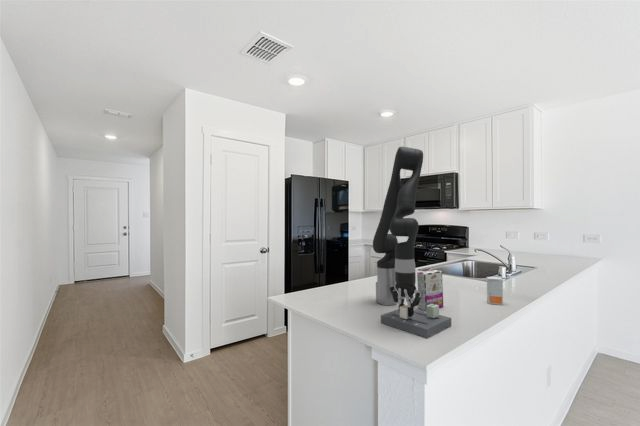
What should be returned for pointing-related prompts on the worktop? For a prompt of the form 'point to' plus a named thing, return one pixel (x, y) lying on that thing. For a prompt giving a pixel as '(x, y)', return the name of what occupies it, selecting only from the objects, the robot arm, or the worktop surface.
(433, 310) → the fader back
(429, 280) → the candy bar box
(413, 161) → the robot arm
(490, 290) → the skincare box
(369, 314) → the worktop surface
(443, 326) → the fader board
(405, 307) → the block
